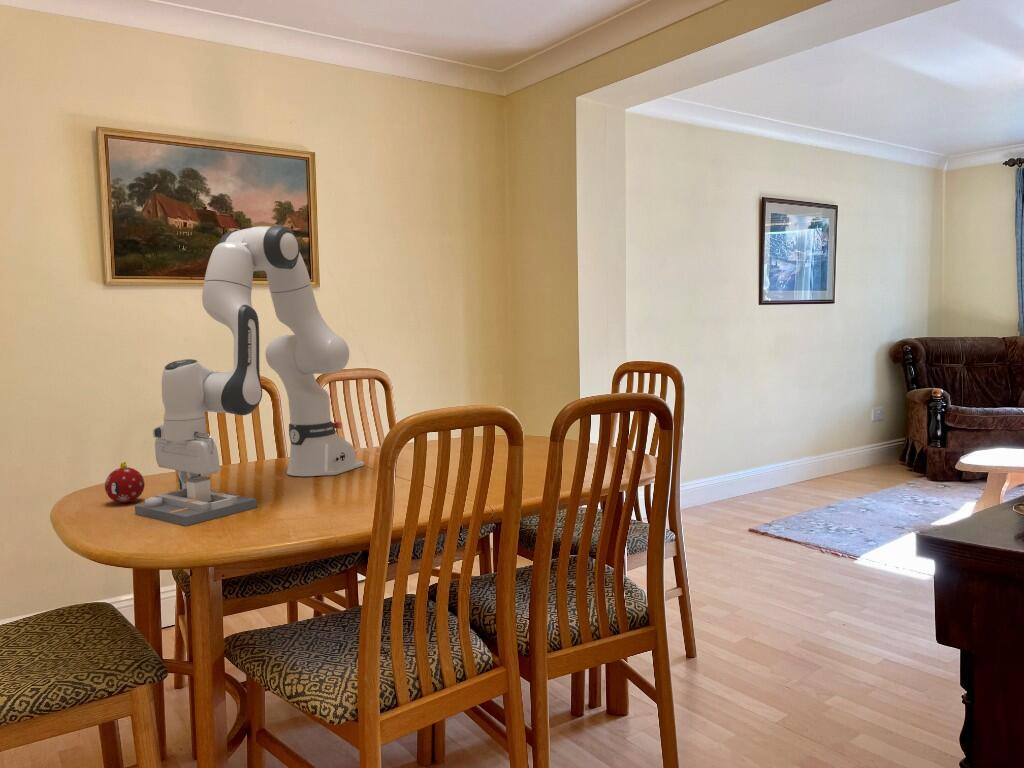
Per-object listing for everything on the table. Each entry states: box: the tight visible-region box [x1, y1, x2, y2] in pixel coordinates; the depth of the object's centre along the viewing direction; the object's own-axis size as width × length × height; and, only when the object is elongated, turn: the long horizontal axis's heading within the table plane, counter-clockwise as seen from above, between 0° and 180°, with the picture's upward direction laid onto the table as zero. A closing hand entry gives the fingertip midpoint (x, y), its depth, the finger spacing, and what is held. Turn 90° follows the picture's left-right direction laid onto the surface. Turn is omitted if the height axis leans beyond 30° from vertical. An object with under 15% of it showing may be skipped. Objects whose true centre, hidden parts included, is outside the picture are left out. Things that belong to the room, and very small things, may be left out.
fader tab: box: [186, 475, 212, 502], centre depth 174 cm, size 4×3×6 cm
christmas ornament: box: [104, 461, 145, 504], centre depth 185 cm, size 9×9×10 cm
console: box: [134, 489, 258, 527], centre depth 175 cm, size 18×20×4 cm
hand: (189, 489), depth 176 cm, fingers closed
